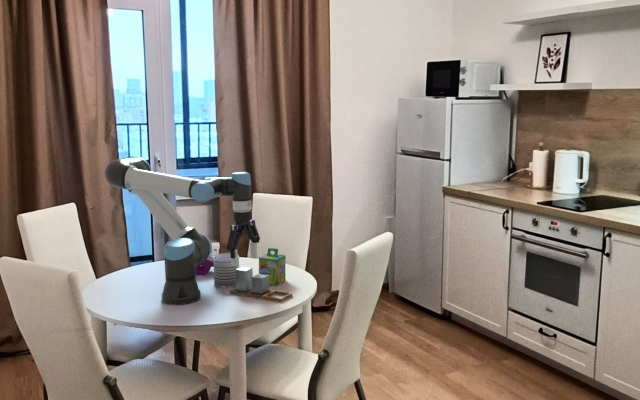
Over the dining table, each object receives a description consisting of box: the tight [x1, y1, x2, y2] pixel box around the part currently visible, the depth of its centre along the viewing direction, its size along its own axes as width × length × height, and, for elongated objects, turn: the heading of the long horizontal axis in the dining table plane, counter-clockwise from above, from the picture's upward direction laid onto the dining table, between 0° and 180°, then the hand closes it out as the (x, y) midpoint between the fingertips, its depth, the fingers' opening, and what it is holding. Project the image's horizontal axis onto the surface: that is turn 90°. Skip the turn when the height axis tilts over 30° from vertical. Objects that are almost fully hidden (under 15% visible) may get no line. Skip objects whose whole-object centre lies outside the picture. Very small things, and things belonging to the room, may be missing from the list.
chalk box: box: [258, 247, 287, 287], centre depth 265 cm, size 9×9×15 cm
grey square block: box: [235, 266, 254, 293], centre depth 251 cm, size 5×5×10 cm
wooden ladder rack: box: [229, 287, 293, 303], centre depth 248 cm, size 9×25×1 cm, turn 62°
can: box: [212, 252, 240, 288], centre depth 265 cm, size 11×11×12 cm
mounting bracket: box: [195, 255, 214, 277], centre depth 282 cm, size 10×8×18 cm
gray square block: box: [252, 273, 270, 296], centre depth 248 cm, size 5×5×8 cm
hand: (244, 262), depth 250 cm, fingers open, 13 cm apart
